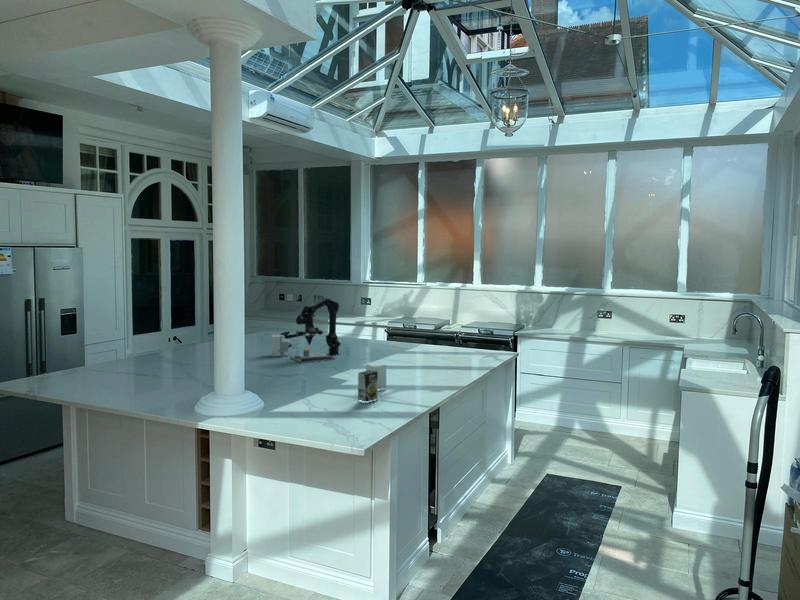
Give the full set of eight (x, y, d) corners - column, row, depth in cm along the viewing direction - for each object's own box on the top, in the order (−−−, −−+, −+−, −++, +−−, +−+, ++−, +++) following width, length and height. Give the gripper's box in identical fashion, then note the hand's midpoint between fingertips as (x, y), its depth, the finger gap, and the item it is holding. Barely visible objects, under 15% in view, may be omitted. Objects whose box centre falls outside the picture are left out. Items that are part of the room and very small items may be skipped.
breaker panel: (324, 355, 473) (324, 351, 473) (334, 359, 456) (334, 355, 455) (291, 358, 460) (290, 354, 460) (300, 363, 443) (300, 358, 443)
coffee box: (366, 404, 334) (366, 374, 333) (357, 402, 338) (357, 372, 337) (378, 400, 341) (378, 371, 339) (369, 398, 345) (369, 369, 344)
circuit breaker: (290, 356, 467) (290, 336, 466) (271, 356, 468) (270, 336, 466) (292, 354, 475) (292, 335, 473) (273, 354, 475) (273, 334, 474)
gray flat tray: (323, 354, 470) (323, 352, 469) (330, 357, 457) (330, 356, 457) (294, 357, 458) (294, 355, 458) (301, 360, 446) (301, 358, 446)
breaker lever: (307, 357, 457) (307, 348, 457) (309, 358, 455) (309, 349, 454) (303, 357, 456) (303, 348, 455) (304, 358, 453) (304, 349, 453)
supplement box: (386, 390, 364) (386, 364, 363) (373, 392, 360) (373, 366, 358) (378, 387, 372) (378, 362, 370) (365, 389, 367) (365, 363, 366)
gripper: (300, 325, 443) (301, 347, 444) (325, 323, 452) (325, 345, 453) (295, 323, 452) (295, 345, 454) (319, 321, 461) (319, 343, 463)
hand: (309, 344), depth 456 cm, fingers closed
